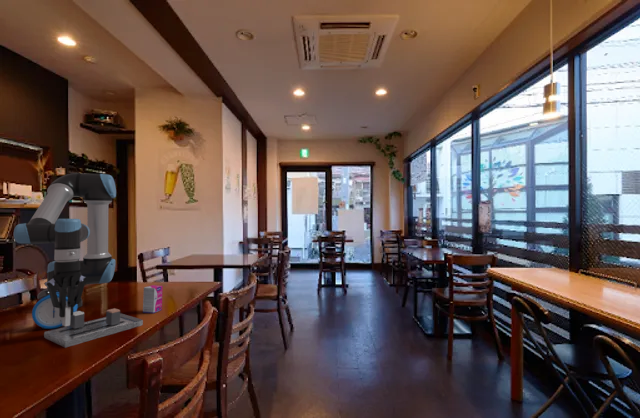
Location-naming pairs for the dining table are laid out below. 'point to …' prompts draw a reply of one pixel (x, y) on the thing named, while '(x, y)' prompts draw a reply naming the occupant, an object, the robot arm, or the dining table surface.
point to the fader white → (77, 319)
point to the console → (90, 330)
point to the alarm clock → (48, 311)
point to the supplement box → (152, 299)
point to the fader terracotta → (112, 316)
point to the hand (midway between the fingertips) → (66, 325)
